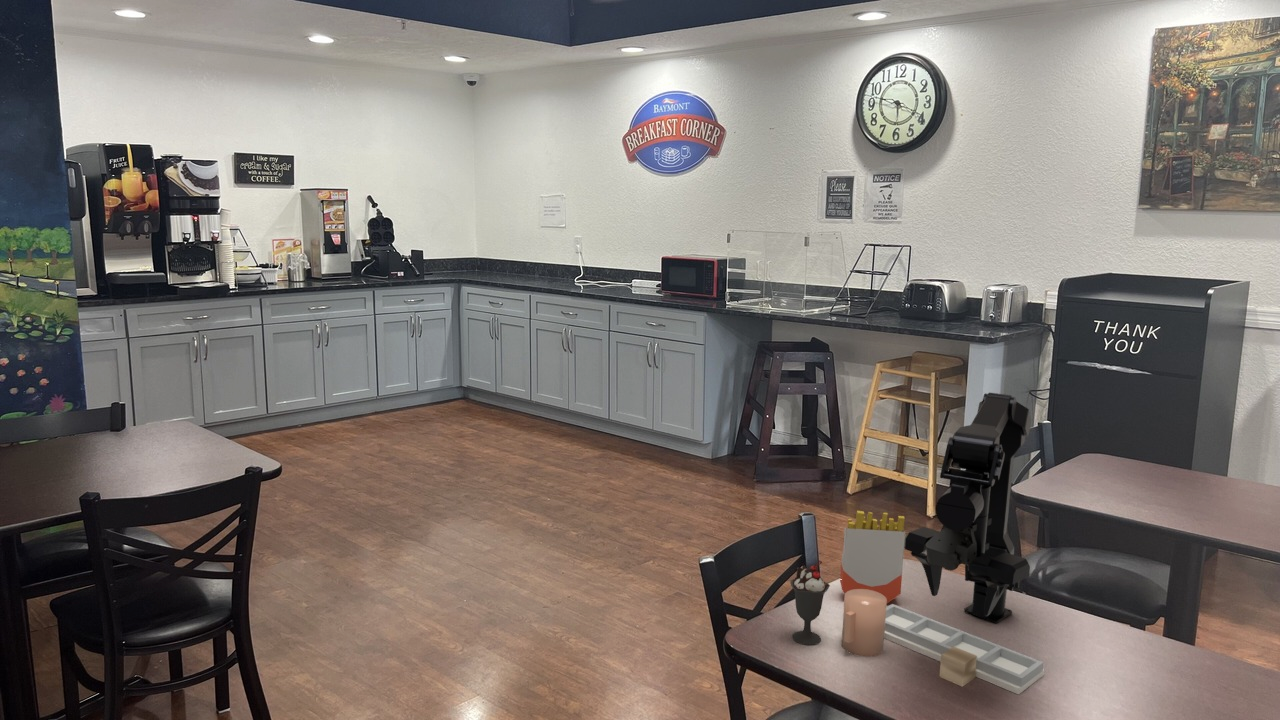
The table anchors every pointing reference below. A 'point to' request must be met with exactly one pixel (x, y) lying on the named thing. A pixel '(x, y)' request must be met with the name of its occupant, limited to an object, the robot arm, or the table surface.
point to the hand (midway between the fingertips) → (960, 605)
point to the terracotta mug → (864, 622)
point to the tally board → (939, 638)
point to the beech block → (958, 666)
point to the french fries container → (873, 555)
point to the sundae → (808, 601)
